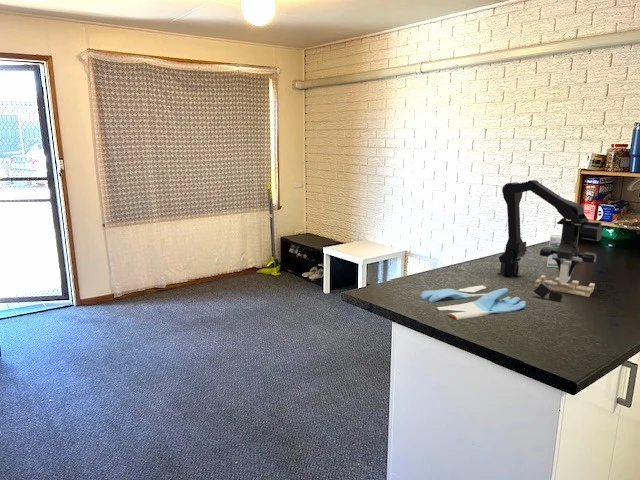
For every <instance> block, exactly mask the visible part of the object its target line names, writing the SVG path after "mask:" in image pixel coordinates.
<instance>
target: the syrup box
mask: <svg viewBox="0 0 640 480" xmlns="http://www.w3.org/2000/svg"><path fill="white" fill-rule="evenodd" d="M561 236H562V234H550V235H549V244H548V247H551V248H554V250H556V251H557V250H558V247H559V245H560V243H561ZM552 258H553V255H550V256H548V257H547V261H546V267H548V268H555V269H556V268H557V269H559V268H558V265H557V263H556V261H555V260H553V259H552Z"/></svg>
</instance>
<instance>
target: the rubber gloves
mask: <svg viewBox="0 0 640 480" xmlns="http://www.w3.org/2000/svg"><path fill="white" fill-rule="evenodd" d="M483 289H484V290H485V289H487V287H486V286H485V285H481V284H480V285H475V286H469V287H464V288H460V289H453V288H441V289H436V290H432V289H431V290H429V289H428V290H424V291H422V292H421V294H420V295H419V298H420V300H421V301H427V300H428V302H429V303H436V302H437V301H440V300H461V299H470V298H477V300H474V301H469V302H466V303H465V302H464V303H460V304H452V305H445V306H437V307H436V310H439V311H447V310H448V311H455V312H449V313H447V314H446V315H447V316H448V317H451V318H453V319H455V320H456V321H457V320H458V321H459V320H466V319H472V318H478V317H482V316H484V317H485V316H488V315H492V314H504V313H510V312H516V311H518V310H521V309H525V307H526V306H527V301H526V300H521V298H520V297H518V296H515V297H512V298H511V296H506V297H504V298H502V299H499V298H501V297H502V296H504V295H506V294H507V293H508V291H509V289H508V287H504V288H499V289H496V290H492V291H490V292H487V293H475V292H478V291H481V290H483ZM466 292H467V293H466ZM472 293H473V294H472ZM478 297H479V298H478ZM456 311H457V312H456ZM458 311H459V312H458Z"/></svg>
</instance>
